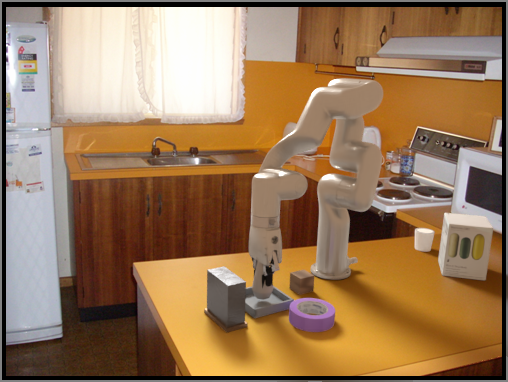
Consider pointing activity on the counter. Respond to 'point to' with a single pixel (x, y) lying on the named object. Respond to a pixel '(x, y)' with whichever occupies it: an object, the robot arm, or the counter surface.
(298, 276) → the walnut cube
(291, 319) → the masking tape
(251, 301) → the tray
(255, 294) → the salt shaker
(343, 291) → the counter surface
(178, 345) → the counter surface
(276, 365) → the counter surface
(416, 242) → the shot glass
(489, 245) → the supplement box
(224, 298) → the unit
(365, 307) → the counter surface
